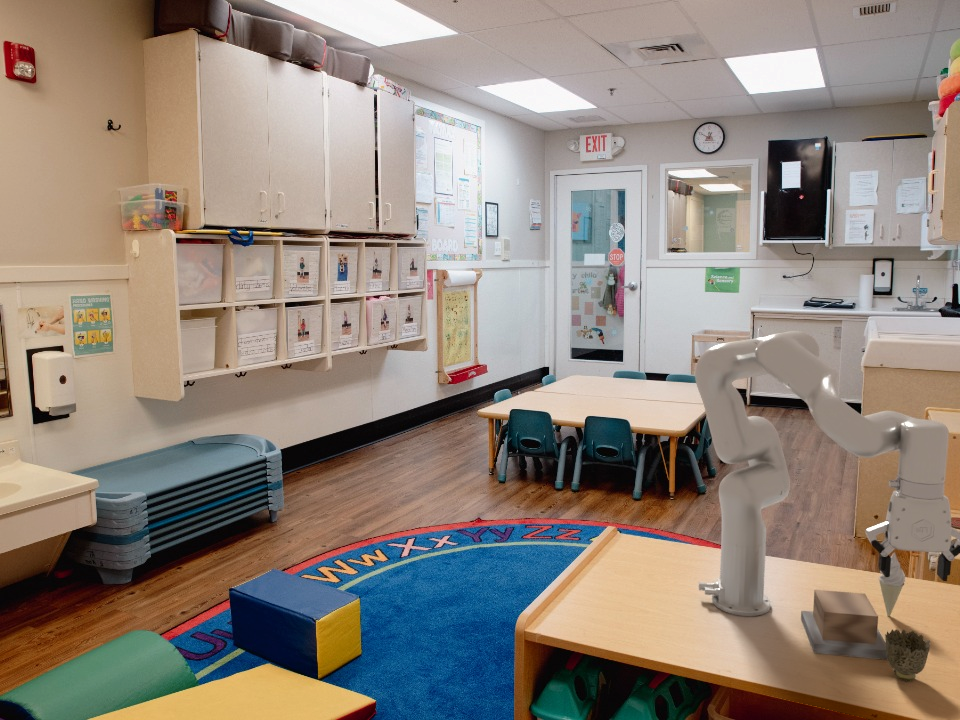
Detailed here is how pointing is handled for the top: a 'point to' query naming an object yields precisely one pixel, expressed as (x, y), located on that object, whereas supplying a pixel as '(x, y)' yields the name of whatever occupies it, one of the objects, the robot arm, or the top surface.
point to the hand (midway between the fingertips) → (913, 576)
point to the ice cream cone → (892, 584)
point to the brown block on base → (843, 625)
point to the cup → (906, 653)
